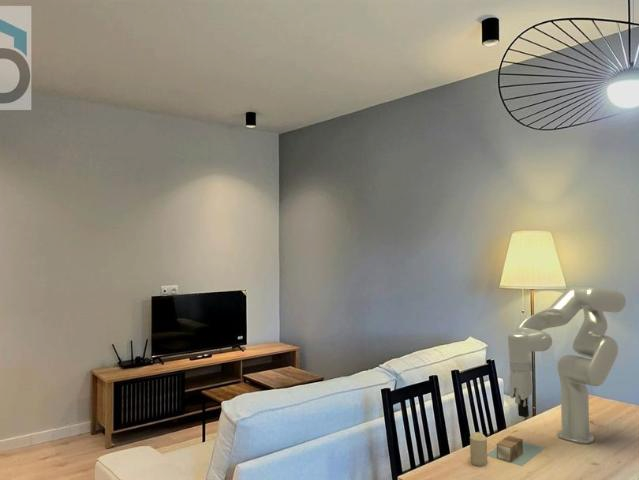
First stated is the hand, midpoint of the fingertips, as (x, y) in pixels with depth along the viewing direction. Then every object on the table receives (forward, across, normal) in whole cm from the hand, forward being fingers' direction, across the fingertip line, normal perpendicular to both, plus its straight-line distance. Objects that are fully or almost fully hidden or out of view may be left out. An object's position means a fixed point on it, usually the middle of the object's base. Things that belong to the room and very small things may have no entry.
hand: (523, 415), depth 180 cm
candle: (+11, +23, -7) cm, 26 cm away
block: (+8, +7, -1) cm, 11 cm away
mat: (+12, +7, -1) cm, 13 cm away
